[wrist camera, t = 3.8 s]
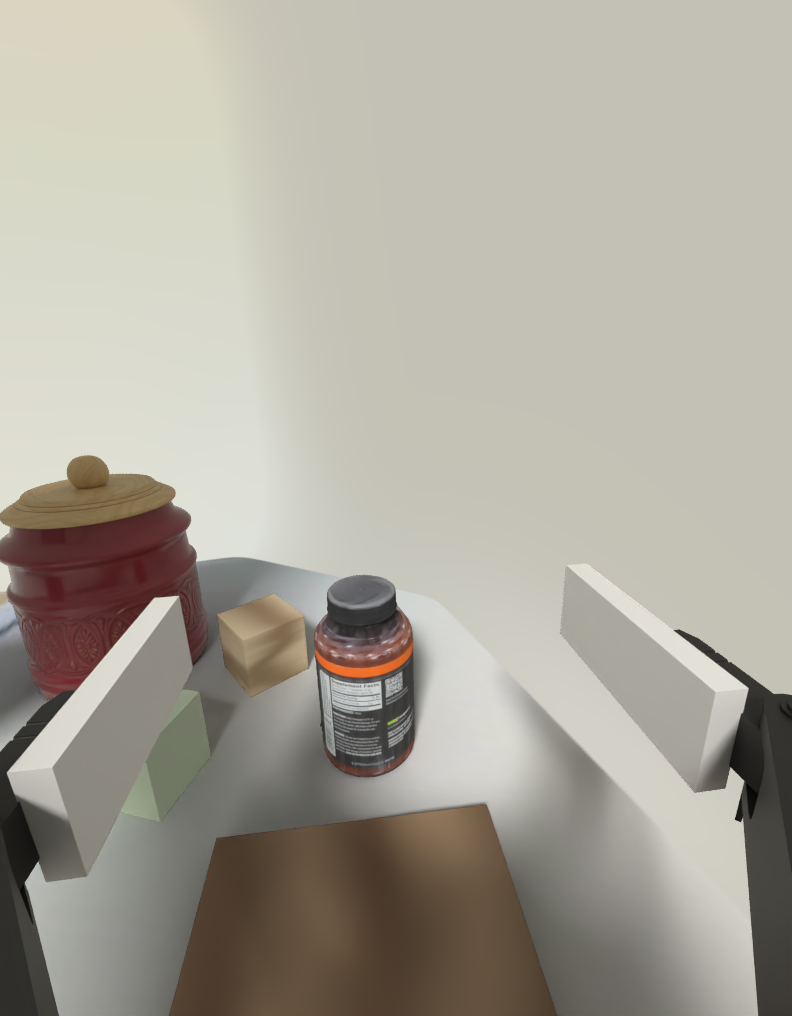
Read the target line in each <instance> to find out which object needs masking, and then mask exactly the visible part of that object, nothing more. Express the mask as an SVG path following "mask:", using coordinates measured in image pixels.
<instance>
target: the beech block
mask: <svg viewBox="0 0 792 1016" xmlns="http://www.w3.org/2000/svg"><path fill="white" fill-rule="evenodd" d="M217 617H218V624H219V630H220V637H221V643H222V650H223V656H224V663H225V667H226V668H227V669H228V671H229V672H230V673H231V674H232V675H233V677H234V678H235V679H236V680H237V681H238V683H239V684H240V685H241V686H242V687H243V689H244V690H245V691H246V692H247V693H248V695H249V696H250V697H252V696H254V695H256V694H258V693H260V692H262V691H264V690H266V689H268V688H270V687H272V686H274V685H276V684H278V683H280V682H282V681H284V680H286V679H288V678H290V677H292V676H294V675H296V674H298V673H300V672H302V671H304V670H306V669H308V657H307V646H306V634H305V623H304V615H302V614H301V613H300V612H298V611H297V610H295V609H294V608H293V607H291V606H290V605H289V604H287V603H286V602H285V601H283V600H282V599H281V598H279V597H278V596H277V595H275V594H272V595H270V596H267V597H264V598H261V599H258V600H256V601H253V602H250V603H247V604H244V605H242V606H239V607H236V608H233V609H231V610H228V611H225V612H222V613H219V614H217Z"/></svg>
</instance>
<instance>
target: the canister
mask: <svg viewBox="0 0 792 1016" xmlns="http://www.w3.org/2000/svg"><path fill="white" fill-rule="evenodd" d="M67 477H68V480H64V481H58V482H54V483H50V484H46V485H42V486H39V487H36V488H33V489H31V490H28V491H26V492H24V493H23V494H22V495H21V496H20V499H19V500H17V501H16V502H15V503H13V504H12V505H10V506H9V507H7V508H6V509H5V510H3V511H2V512H1V513H0V521H1V522H2V523H3V524H5V525H7V526H10V532H9V534H7V535H6V536H5V537H3V538H2V539H1V540H0V562H1V563H3V564H5V565H8V568H9V572H10V577H11V583H10V585H9V586H8V588H7V592H6V595H7V599H8V601H9V602H10V603H11V604H12V605H13V608H14V612H15V615H16V618H17V621H18V625H19V628H20V631H21V634H22V638H23V641H24V644H25V647H26V651H27V654H28V657H29V659H28V668H29V671H30V673H31V678H32V680H33V682H34V683H35V685H36V686H37V687H38V688H39V689H40V691H41V693H42V695H43V696H44V697H45V698H46V699H48V700H49V701H50V700H51V699H53V698H54V697H56V696H57V695H58V694H60V693H61V692H63V691H68V690H77V689H78V688H79V687H80V685H81V684H82V683H83V682H84V681H85V679H86V678H87V677H88V676H89V675H90V674H91V672H92V671H93V670H94V669H95V668H96V666H97V665H98V664H99V663H100V662H101V661H102V659H103V658H104V657H105V656H106V655H107V653H108V652H109V651H110V650H111V649H112V647H113V646H114V645H115V644H116V643H117V642H118V640H119V639H120V638H121V637H122V636H123V634H124V633H125V632H126V631H127V630H128V629H129V627H130V626H131V625H132V624H133V623H134V621H135V620H136V619H137V618H138V617H139V616H140V614H141V613H142V612H143V611H144V610H145V608H146V607H147V606H148V605H149V604H150V602H151V601H152V600H153V599H154V598H160V597H172V596H179V598H180V603H181V608H182V614H183V619H184V624H185V629H186V635H187V640H188V645H189V650H190V656H191V661H192V664H193V663H194V662H195V661H196V660H197V659H198V658H199V656H200V655H201V654H202V652H203V650H204V648H205V646H206V642H207V631H208V621H207V614H206V611H205V609H204V608H203V603H202V597H201V591H200V585H199V579H198V573H197V566H196V558H197V555H196V551H195V549H194V548H193V547H192V546H191V545H190V544H189V543H188V538H187V534H186V529H187V528H188V527H189V525H190V522H191V516H190V514H189V513H188V512H186V511H185V510H184V509H182V508H179V507H177V506H174V505H173V503H172V502H171V500H172V499H173V498H174V497H175V490H174V489H173V488H172V487H170V486H168V485H166V484H162V483H160V482H157V481H155V480H154V479H153V478H152V477H150V476H147V475H140V474H109V470H108V468H107V465H106V464H105V463H104V462H103V461H102V460H101V459H100V458H98V457H95V456H80V457H77V458H74V459H73V460H72V461H71V462H70V463H69V465H68V467H67Z"/></svg>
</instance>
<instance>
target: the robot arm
mask: <svg viewBox="0 0 792 1016" xmlns="http://www.w3.org/2000/svg"><path fill="white" fill-rule="evenodd" d="M560 634H561V635H562V636H563V637H564V639H565V640H566V641H567V642H568V643H569V645H570V646H571V647H572V648H573V649H574V650H575V652H576V653H577V654H578V655H579V656H580V657H581V659H582V660H583V661H584V662H585V664H586V665H587V666H588V667H589V668H590V669H591V671H592V672H593V673H594V674H595V675H596V676H597V678H598V679H599V680H600V681H601V682H602V683H603V685H604V686H605V687H606V688H607V690H608V691H609V692H610V693H611V694H612V695H613V697H614V698H615V699H616V700H617V701H618V703H619V704H620V705H621V706H622V707H623V709H624V710H625V711H626V712H627V713H628V714H629V716H630V717H631V718H632V719H633V720H634V722H635V723H636V724H637V725H638V726H639V727H640V729H641V730H642V731H643V732H644V733H645V734H646V736H647V737H648V738H649V739H650V740H651V742H652V743H653V744H654V745H655V746H656V747H657V749H658V750H659V751H660V752H661V753H662V755H663V756H664V757H665V758H666V759H667V761H668V762H669V763H670V764H671V765H672V767H673V768H674V769H675V770H676V771H677V772H678V774H679V775H680V776H681V777H682V778H683V779H684V781H685V782H686V783H687V784H688V785H689V787H690V788H691V789H692V790H693V791H694V792H695V793H696V792H703V791H711V790H717V789H725V787H726V783H727V779H728V775H729V770H730V767H731V768H732V769H733V770H734V771H735V772H736V773H737V774H738V775H739V776H740V777H741V778H742V779H743V780H744V781H745V782H744V785H743V789H742V793H741V798H740V801H739V805H738V810H737V814H736V817H735V820H737V821H739V822H741V821H742V818H743V822H744V834H745V848H746V861H747V874H748V887H749V900H750V912H751V926H752V939H753V952H754V965H755V978H756V991H757V1004H758V1016H792V695H787V694H773V693H772V692H770V691H769V690H768V689H766V688H765V687H763V686H762V685H761V684H759V683H758V682H757V681H756V680H754V679H753V678H751V677H750V676H749V675H747V674H746V673H745V672H743V671H742V670H741V669H739V668H738V667H737V666H735V665H734V664H732V663H731V662H730V663H729V662H728V661H727V659H726V658H724V657H723V656H722V655H720V654H719V653H715V651H714V650H713V649H712V648H711V647H709V646H708V645H707V644H705V643H704V642H702V641H701V640H700V639H698V638H696V637H694V636H692V635H690V634H687V633H685V632H683V631H681V630H672V629H671V628H669V627H668V626H667V625H666V624H664V623H663V622H662V621H661V620H659V619H658V618H657V617H655V616H654V615H653V614H651V613H650V612H649V611H648V610H646V609H645V608H644V607H642V606H641V605H640V604H638V603H637V602H636V601H634V600H633V599H632V598H630V597H629V596H628V595H627V594H625V593H624V592H623V591H621V590H620V589H619V588H618V587H616V586H615V585H614V584H612V583H611V582H610V581H609V580H607V579H606V578H605V577H603V576H602V575H601V574H599V573H598V572H597V571H596V570H594V569H593V568H592V567H590V566H589V565H588V564H575V565H566V571H565V582H564V594H563V606H562V618H561V629H560ZM192 670H193V666H192V661H191V656H190V650H189V645H188V640H187V635H186V629H185V624H184V619H183V614H182V608H181V603H180V598H179V596H172V597H160V598H154V599H153V600H152V601H151V602H150V604H149V605H148V606H147V607H146V608H145V610H144V611H143V612H142V613H141V614H140V616H139V617H138V618H137V619H136V620H135V621H134V623H133V624H132V625H131V626H130V627H129V629H128V630H127V631H126V632H125V633H124V634H123V636H122V637H121V638H120V639H119V640H118V642H117V643H116V644H115V645H114V646H113V647H112V649H111V650H110V651H109V652H108V653H107V655H106V656H105V657H104V658H103V659H102V661H101V662H100V663H99V664H98V665H97V666H96V668H95V669H94V670H93V671H92V672H91V674H90V675H89V676H88V677H87V678H86V679H85V681H84V682H83V683H82V684H81V685H80V687H79V688H78V689H77V690H68V691H63V692H61V693H60V694H58V695H57V696H56V697H54V698H53V699H51V700H50V701H48V702H47V703H46V704H44V705H43V706H41V708H40V709H39V710H38V711H37V712H36V713H35V714H34V715H33V716H32V717H31V719H30V720H29V721H28V722H27V723H26V726H23V727H22V728H21V730H20V731H19V732H18V733H17V734H16V735H15V736H14V739H13V741H10V742H9V743H8V744H7V745H6V746H5V747H4V748H3V749H2V750H1V752H0V1016H59V1014H58V1010H57V1006H56V1002H55V998H54V994H53V990H52V986H51V982H50V978H49V974H48V970H47V966H46V962H45V958H44V954H43V950H42V946H41V942H40V938H39V934H38V929H37V925H36V921H35V917H34V913H33V909H32V905H31V901H30V897H29V893H28V891H27V888H26V885H25V881H26V880H27V878H28V876H29V875H30V873H31V872H32V870H33V868H34V867H35V865H36V864H37V862H38V861H39V864H40V867H41V869H42V872H43V875H44V878H45V880H46V882H50V881H57V880H65V879H72V878H79V877H87V876H88V874H89V872H90V870H91V868H92V866H93V864H94V862H95V860H96V858H97V856H98V854H99V852H100V850H101V848H102V846H103V844H104V842H105V840H106V838H107V836H108V834H109V833H110V831H111V829H112V827H113V825H114V823H115V821H116V819H117V817H118V815H119V813H120V811H121V809H122V807H123V805H124V803H125V801H126V799H127V797H128V795H129V793H130V791H131V789H132V787H133V785H134V783H135V781H136V780H137V778H138V776H139V774H140V772H141V770H142V768H143V766H144V764H145V762H146V760H147V758H148V756H149V754H150V752H151V750H152V748H153V746H154V744H155V742H156V740H157V738H158V736H159V734H160V732H161V730H162V728H163V726H164V725H165V723H166V721H167V719H168V717H169V715H170V713H171V711H172V709H173V707H174V705H175V703H176V701H177V699H178V697H179V695H180V693H181V691H182V689H183V687H184V685H185V683H186V681H187V679H188V677H189V675H190V673H191V671H192Z"/></svg>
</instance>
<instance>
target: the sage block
mask: <svg viewBox="0 0 792 1016" xmlns="http://www.w3.org/2000/svg"><path fill="white" fill-rule="evenodd" d="M210 757H211V752H210V747H209V741H208V736H207V730H206V725H205V719H204V713H203V708H202V702H201V697H200V692H198V691H193V690H187V689H182V691H181V693H180V695H179V697H178V699H177V701H176V703H175V705H174V707H173V709H172V711H171V713H170V715H169V717H168V719H167V721H166V723H165V725H164V726H163V728H162V730H161V732H160V734H159V736H158V738H157V740H156V742H155V744H154V746H153V748H152V750H151V752H150V754H149V756H148V758H147V760H146V762H145V764H144V766H143V768H142V770H141V772H140V774H139V776H138V778H137V780H136V781H135V783H134V785H133V787H132V789H131V791H130V793H129V795H128V797H127V799H126V801H125V803H124V805H123V807H122V809H121V811H120V812H121V813H125V814H129V815H133V816H137V817H141V818H145V819H149V820H153V821H157V822H161V821H162V819H163V818H164V817H165V816H166V814H167V813H168V812H169V810H170V809H171V808H172V806H173V805H174V804H175V802H176V801H177V800H178V798H179V797H180V796H181V795H182V793H183V792H184V791H185V789H186V788H187V787H188V785H189V784H190V783H191V781H192V780H193V779H194V778H195V776H196V775H197V774H198V772H199V771H200V770H201V768H202V767H203V766H204V764H205V763H206V762H207V761H208V759H209V758H210Z"/></svg>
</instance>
